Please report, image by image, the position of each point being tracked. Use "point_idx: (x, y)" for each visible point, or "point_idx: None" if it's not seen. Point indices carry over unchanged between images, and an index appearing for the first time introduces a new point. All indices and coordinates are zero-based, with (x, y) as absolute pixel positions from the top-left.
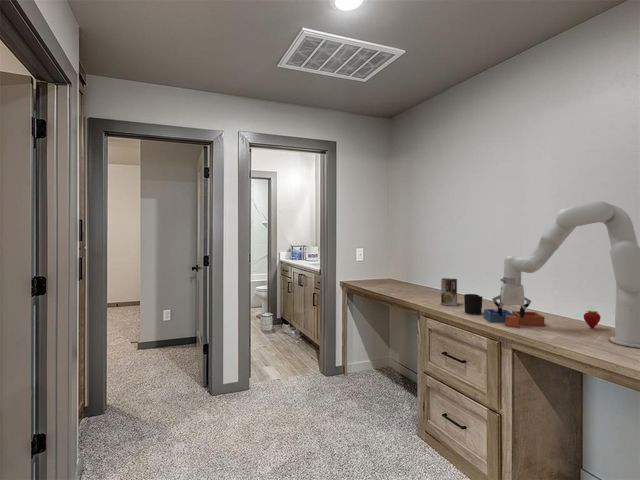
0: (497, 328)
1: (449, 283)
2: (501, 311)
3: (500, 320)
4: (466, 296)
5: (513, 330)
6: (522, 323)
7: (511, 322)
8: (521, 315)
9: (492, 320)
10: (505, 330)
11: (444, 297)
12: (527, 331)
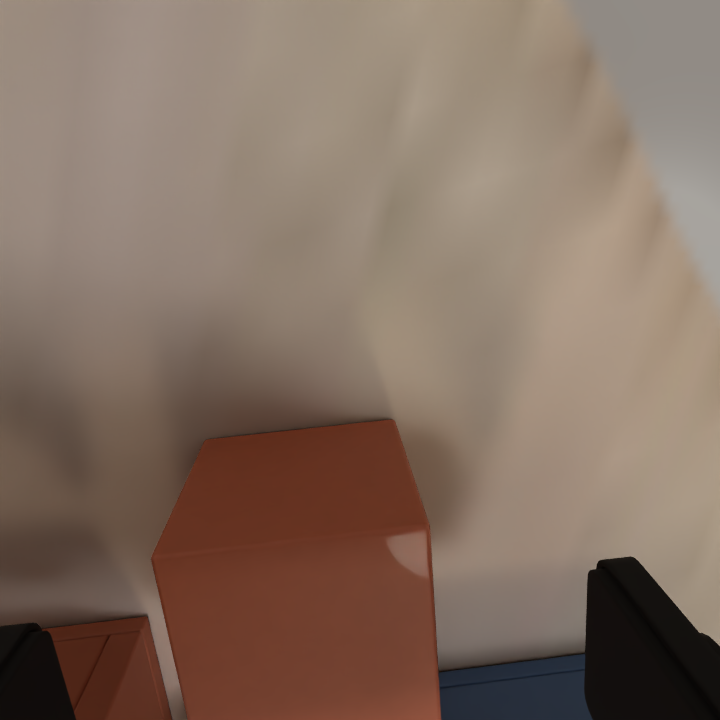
0: (658, 199)
1: None
2: (707, 670)
3: (471, 703)
4: None
5: (366, 105)
6: (89, 643)
7: (341, 462)
8: (31, 700)
9: None
10: (544, 51)
11: None
12: (69, 94)
